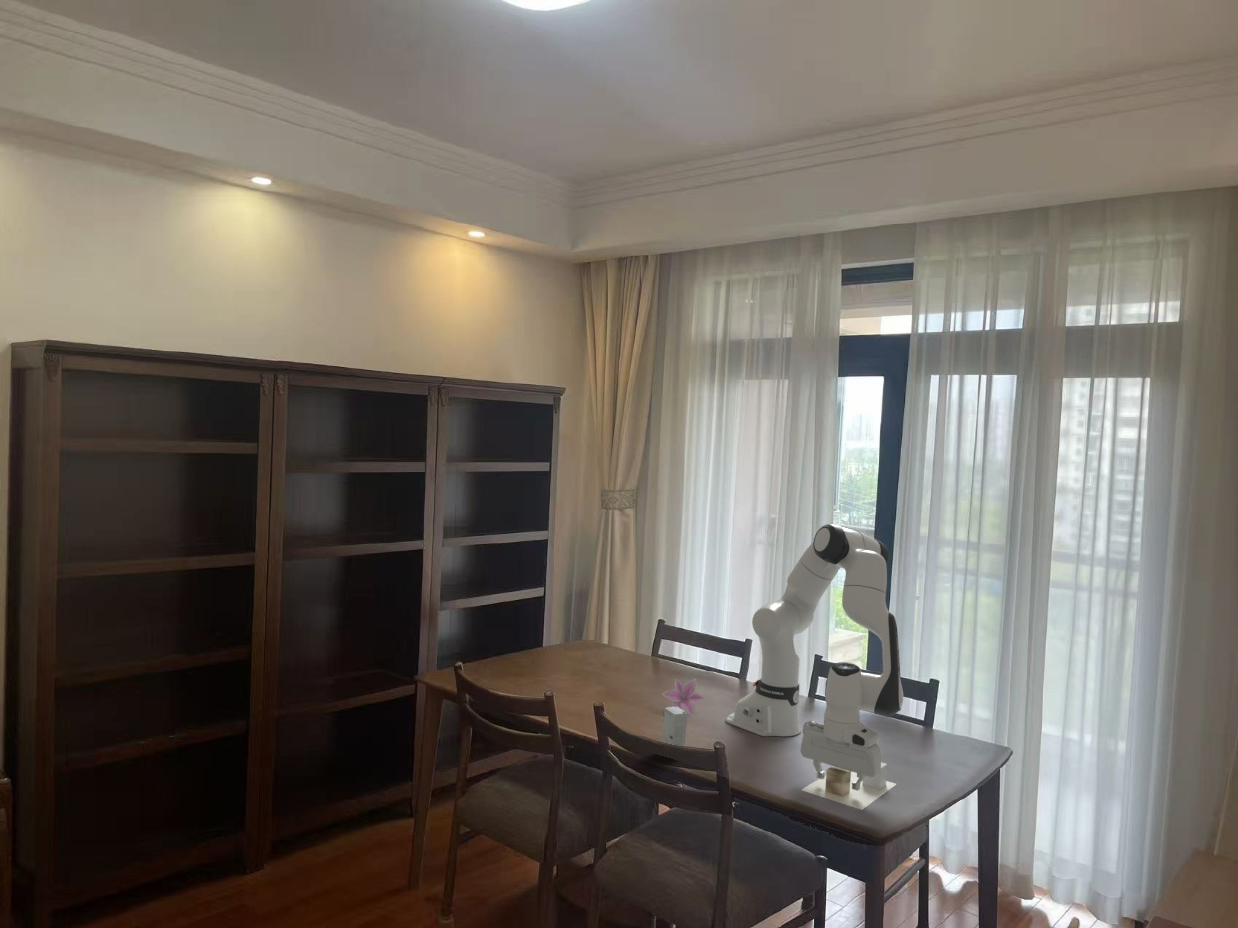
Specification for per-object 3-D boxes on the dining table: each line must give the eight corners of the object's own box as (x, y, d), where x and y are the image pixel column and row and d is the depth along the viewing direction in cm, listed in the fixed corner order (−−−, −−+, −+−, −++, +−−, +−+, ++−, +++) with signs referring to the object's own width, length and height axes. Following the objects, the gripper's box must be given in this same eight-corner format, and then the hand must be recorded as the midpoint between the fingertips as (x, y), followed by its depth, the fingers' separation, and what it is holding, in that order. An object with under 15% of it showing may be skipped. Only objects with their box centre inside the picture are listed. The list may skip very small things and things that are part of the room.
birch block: (825, 791, 219) (826, 769, 219) (833, 785, 223) (834, 764, 223) (842, 796, 216) (843, 774, 216) (849, 791, 220) (851, 769, 220)
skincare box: (660, 750, 242) (663, 706, 242) (675, 748, 244) (677, 705, 243) (670, 758, 236) (673, 714, 236) (685, 756, 238) (688, 712, 238)
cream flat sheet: (800, 790, 219) (801, 789, 219) (838, 767, 237) (838, 766, 236) (861, 810, 209) (861, 809, 209) (896, 784, 226) (896, 783, 226)
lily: (656, 710, 280) (658, 688, 275) (678, 689, 288) (681, 668, 283) (686, 730, 274) (689, 708, 269) (708, 708, 281) (711, 687, 276)
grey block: (862, 784, 225) (863, 763, 225) (869, 779, 228) (870, 758, 228) (879, 789, 222) (880, 768, 222) (886, 784, 225) (887, 763, 225)
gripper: (797, 721, 223) (794, 775, 224) (875, 743, 210) (871, 799, 211) (809, 716, 228) (806, 768, 229) (885, 736, 215) (881, 792, 216)
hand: (838, 783), depth 220 cm, fingers open, 8 cm apart
